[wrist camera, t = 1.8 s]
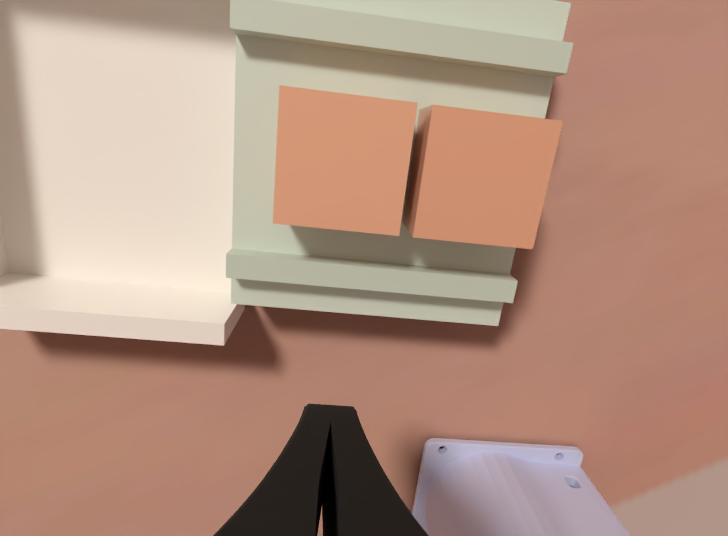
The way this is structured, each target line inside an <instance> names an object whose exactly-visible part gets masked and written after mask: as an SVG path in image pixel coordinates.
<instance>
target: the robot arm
mask: <svg viewBox="0 0 728 536" xmlns="http://www.w3.org/2000/svg"><path fill="white" fill-rule="evenodd" d="M441 446H445V447H444V448H443V449H439V447H441ZM558 453H559V454H558ZM556 454H558V455H556ZM582 459H583V453H582V452H581V450H580V449H579V448H578V447H574V446H557V445H541V444H525V443H508V442H492V441H475V440H459V439H443V438H431V439H428V440H427V441H426V442H425V444H424V450H423V455H422V460H421V466H420V471H419V476H418V482H417V487H416V493H415V498H414V503H413V509H412V514H411V512H410V511H409V509H408V508H407V507H406V505H405V504H404V502H403V501H402V500H401V498H400V497H399V495H398V494H397V492H396V491H395V489H394V487H393V486H392V484H391V482H390V481H389V479H388V478H387V476H386V474H385V473H384V471H383V469H382V467H381V466H380V464H379V462H378V460H377V458H376V456H375V454H374V452H373V450H372V448H371V446H370V444H369V442H368V440H367V438H366V436H365V433H364V431H363V429H362V426H361V424H360V421H359V418H358V415H357V412H356V410H355V409H354V407H351V406H335V405H320V404H308V405H307V406H305V407H304V410H303V413H302V416H301V418H300V421H299V423H298V425H297V427H296V429H295V430H294V432H293V434H292V436H291V438H290V439H289V441H288V443H287V444H286V446H285V448H284V449H283V451H282V453H281V454H280V456H279V457H278V459H277V460H276V462H275V463H274V464H273V466H272V467H271V469H270V470H269V471H268V473H267V474H266V476H265V477H264V479H263V480H262V481H261V482H260V484H259V485H258V486H257V488H256V489H255V490H254V491H253V493H252V494H251V495H250V496H249V497H248V499H247V500H246V501H245V502H244V503H243V505H242V506H241V507H240V508H239V509H238V510H237V511H236V512H235V513H234V515H233V516H232V517H231V518H230V519H229V520H228V521H227V522H226V523H225V524H224V525H223V526H222V527H221V528H220V529H219V530H218V531H217V532H216V533H215V534H214V535H213V536H317V533H318V526H319V520H320V514H321V507H322V516H323V536H630V534H629V533H628V531H627V530H626V529H625V527H624V526H623V525H622V523H621V522H620V521H619V519H618V518H617V516H616V515H615V514H614V512H613V511H612V509H611V508H610V507H609V505H608V504H607V502H606V501H605V500H604V498H603V497H602V495H601V494H600V493H599V491H598V490H597V489H596V487H595V486H594V484H593V483H592V482H591V480H590V479H589V478H588V476H587V475H586V473H585V472H584V471H583V469H582V468H581V467H580V465H581V462H582Z"/></svg>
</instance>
